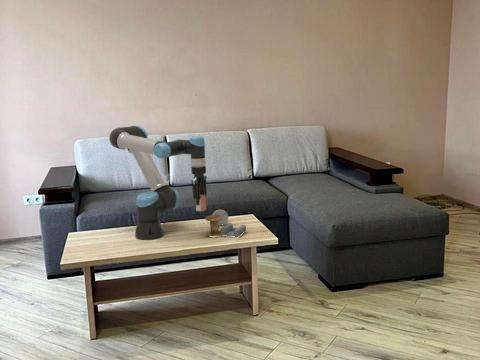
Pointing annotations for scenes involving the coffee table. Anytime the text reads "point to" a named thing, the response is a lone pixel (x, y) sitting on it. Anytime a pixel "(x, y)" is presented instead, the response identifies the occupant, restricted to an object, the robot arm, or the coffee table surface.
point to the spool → (214, 225)
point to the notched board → (233, 230)
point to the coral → (224, 216)
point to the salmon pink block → (203, 202)
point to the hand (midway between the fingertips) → (200, 209)
